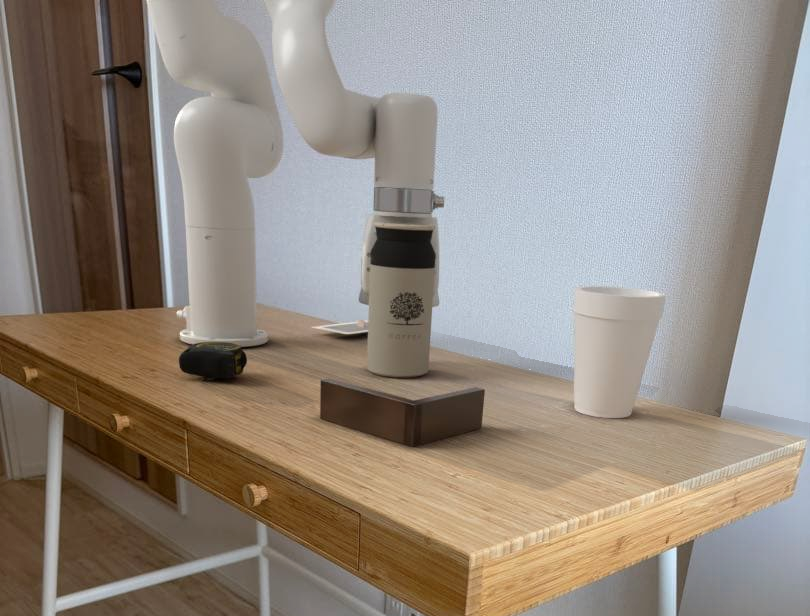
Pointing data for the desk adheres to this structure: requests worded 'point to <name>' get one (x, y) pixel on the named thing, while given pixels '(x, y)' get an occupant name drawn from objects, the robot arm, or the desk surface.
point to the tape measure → (213, 360)
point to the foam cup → (612, 346)
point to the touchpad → (347, 327)
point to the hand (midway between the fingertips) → (396, 349)
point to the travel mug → (400, 299)
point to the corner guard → (401, 412)
